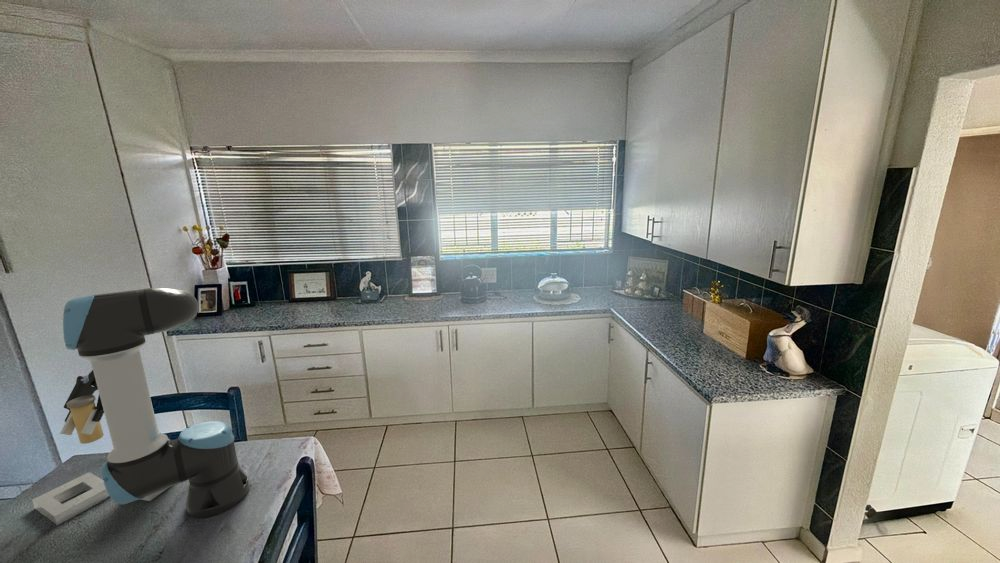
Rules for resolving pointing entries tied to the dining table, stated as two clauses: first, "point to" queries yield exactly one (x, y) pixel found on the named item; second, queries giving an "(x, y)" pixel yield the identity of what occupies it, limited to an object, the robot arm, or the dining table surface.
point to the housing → (60, 512)
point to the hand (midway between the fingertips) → (76, 433)
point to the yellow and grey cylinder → (84, 417)
